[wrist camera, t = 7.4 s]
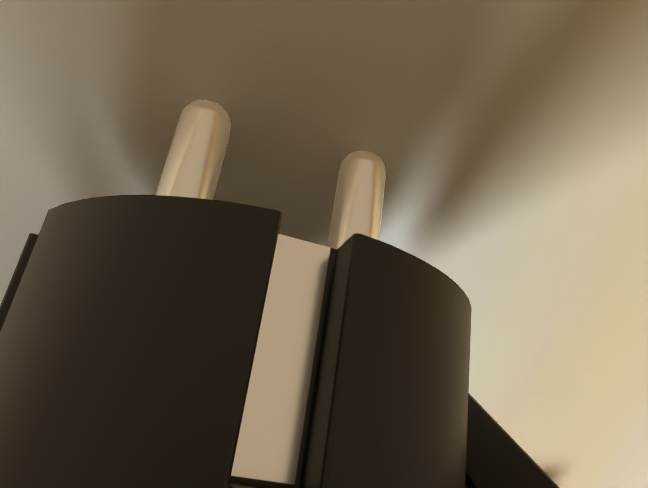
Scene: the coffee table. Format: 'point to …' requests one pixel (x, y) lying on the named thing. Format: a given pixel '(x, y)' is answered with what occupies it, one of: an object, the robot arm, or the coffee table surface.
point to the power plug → (229, 342)
